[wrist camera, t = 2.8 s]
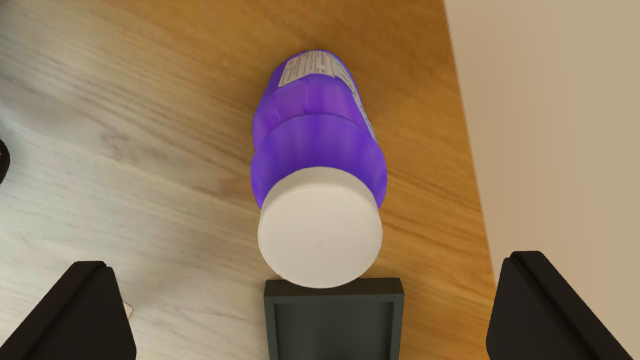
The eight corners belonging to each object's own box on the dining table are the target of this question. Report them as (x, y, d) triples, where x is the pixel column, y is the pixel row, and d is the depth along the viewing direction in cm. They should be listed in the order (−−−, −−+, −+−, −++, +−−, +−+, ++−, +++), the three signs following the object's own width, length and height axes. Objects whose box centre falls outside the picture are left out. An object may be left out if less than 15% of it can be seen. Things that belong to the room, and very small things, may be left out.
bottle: (373, 130, 30) (438, 292, 14) (302, 159, 30) (287, 341, 15) (335, 33, 27) (362, 98, 11) (258, 68, 28) (181, 175, 12)
